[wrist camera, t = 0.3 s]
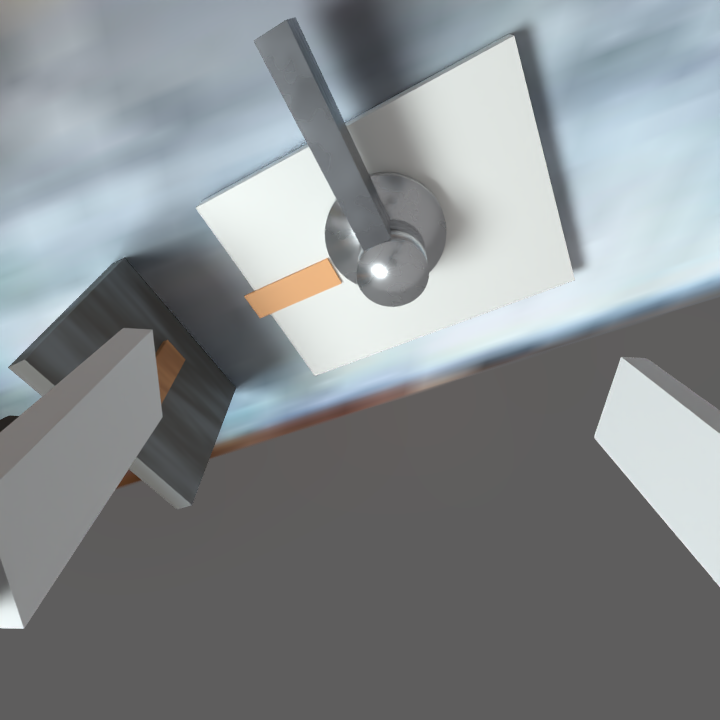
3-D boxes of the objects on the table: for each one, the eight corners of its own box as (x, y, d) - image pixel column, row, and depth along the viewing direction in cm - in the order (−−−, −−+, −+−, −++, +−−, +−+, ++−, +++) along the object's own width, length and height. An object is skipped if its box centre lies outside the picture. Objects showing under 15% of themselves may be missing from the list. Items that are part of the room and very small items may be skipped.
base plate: (508, 33, 29) (514, 35, 28) (569, 271, 39) (575, 281, 38) (191, 206, 37) (184, 214, 35) (307, 369, 46) (305, 380, 45)
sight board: (128, 255, 40) (30, 356, 29) (239, 386, 48) (196, 503, 37) (111, 264, 40) (7, 367, 29) (223, 392, 49) (177, 509, 38)
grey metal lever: (461, 259, 37) (470, 289, 33) (358, 302, 39) (356, 334, 36) (352, -18, 27) (347, -20, 23) (223, 65, 29) (200, 75, 26)
